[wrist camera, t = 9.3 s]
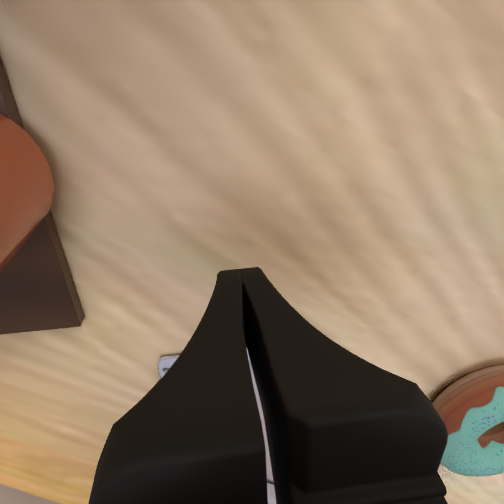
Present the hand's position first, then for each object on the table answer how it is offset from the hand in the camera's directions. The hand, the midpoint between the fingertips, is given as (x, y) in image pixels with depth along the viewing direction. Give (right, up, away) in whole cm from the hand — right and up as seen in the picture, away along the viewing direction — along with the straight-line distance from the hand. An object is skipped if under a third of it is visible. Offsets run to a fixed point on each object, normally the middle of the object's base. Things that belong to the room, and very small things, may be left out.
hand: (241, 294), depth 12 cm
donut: (+21, -12, +22) cm, 33 cm away
